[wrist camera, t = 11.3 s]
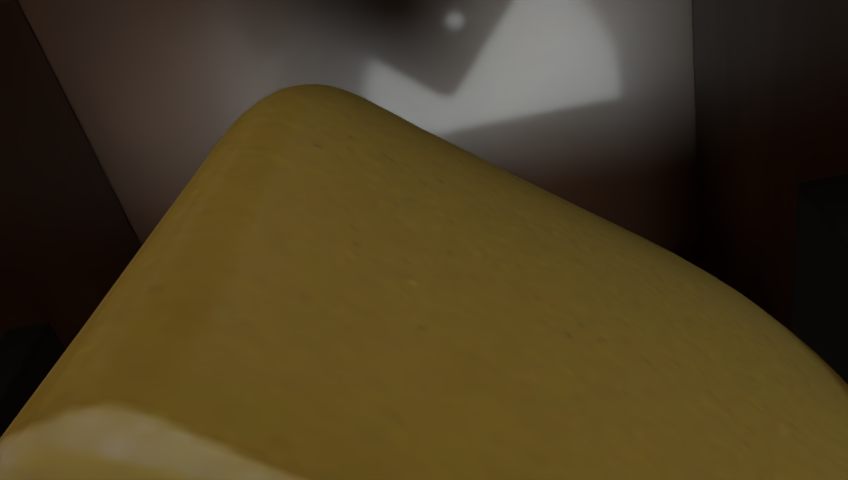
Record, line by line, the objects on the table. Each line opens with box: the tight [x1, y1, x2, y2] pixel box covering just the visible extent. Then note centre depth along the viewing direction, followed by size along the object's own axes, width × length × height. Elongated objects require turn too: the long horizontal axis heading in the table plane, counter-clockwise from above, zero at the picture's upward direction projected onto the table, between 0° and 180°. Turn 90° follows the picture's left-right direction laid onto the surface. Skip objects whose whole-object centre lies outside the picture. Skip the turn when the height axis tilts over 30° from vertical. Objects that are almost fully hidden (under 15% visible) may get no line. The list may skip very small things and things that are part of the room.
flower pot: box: [0, 84, 848, 480], centre depth 10 cm, size 9×9×9 cm
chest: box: [0, 0, 848, 349], centre depth 17 cm, size 18×15×12 cm
